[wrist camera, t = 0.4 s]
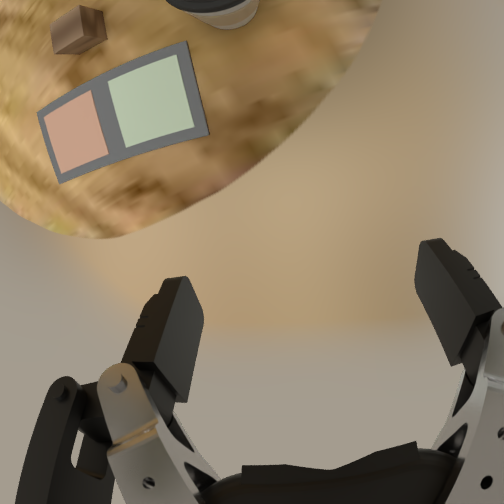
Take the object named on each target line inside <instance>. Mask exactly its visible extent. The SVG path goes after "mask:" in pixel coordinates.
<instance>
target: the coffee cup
mask: <svg viewBox="0 0 504 504" xmlns="http://www.w3.org/2000/svg"><path fill="white" fill-rule="evenodd" d="M166 1H167V2H168V3H169V4H171V5H172V6H174V7H176V8H178V9H180V10H183V11H184V12H186V13H188V14H190V15H192V16H193V17H195V18H197V19H199V20H201V21H202V22H204V23H207V24H210V25H212V26H213V27H216V28H219V29H227V30H228V29H235V28H239V27H241V26H243V25H245V24H247V23H248V22H249V21H250V20H251V19H252V18H253V17H254V15H255V14H256V11H257V7H258V4H259V1H260V0H166Z"/></svg>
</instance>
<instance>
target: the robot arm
mask: <svg viewBox="0 0 504 504" xmlns="http://www.w3.org/2000/svg"><path fill="white" fill-rule="evenodd" d="M414 280H415V288H416V292H417V294H418V296H419V298H420V300H421V302H422V304H423V306H424V308H425V310H426V312H427V314H428V316H429V318H430V320H431V322H432V324H433V327H434V329H435V330H436V333H437V335H438V337H439V339H440V342H441V344H442V346H443V348H444V351H445V353H446V356H447V358H448V361H449V363H450V365H451V366H454V365H457V364H460V363H463V365H464V370H463V372H462V374H461V378H460V382H459V385H458V388H457V392H456V395H455V398H454V401H453V404H452V407H451V410H450V413H449V416H448V418H447V421H446V423H445V425H444V427H443V428H442V430H441V431H440V433H439V435H438V436H437V438H436V440H435V442H434V444H433V446H432V449H421V448H420V449H418V448H417V443H416V441H414V442H411V443H407V444H404V445H400V446H396V447H393V448H389V449H385V450H381V451H377V452H374V453H372V454H370V455H367V456H366V457H363V458H361V459H359V460H356V461H354V462H352V463H350V464H347V465H344V466H342V467H339V468H337V469H333V470H324V469H314V468H306V467H299V466H292V465H286V464H283V465H243V466H242V473H239V474H235V475H232V476H229V477H226V478H224V479H222V480H221V479H220V478H219V476H218V475H217V474H216V472H215V471H214V470H213V468H212V467H211V466H210V465H209V464H208V463H207V462H206V461H205V459H204V458H203V457H202V456H201V455H200V453H199V452H198V450H197V449H196V447H195V446H194V444H193V442H192V441H191V439H190V437H189V436H188V434H187V433H186V431H185V429H184V428H183V426H182V424H181V422H180V421H179V419H178V417H177V416H176V414H175V412H174V411H173V409H174V404H175V402H181V403H187V400H188V395H189V390H190V385H191V381H192V376H193V371H194V366H195V361H196V357H197V352H198V347H199V342H200V338H201V333H202V329H203V324H204V316H203V310H202V307H201V305H200V303H199V300H198V298H197V296H196V294H195V291H194V289H193V287H192V284H191V283H190V280H189V278H188V277H186V276H182V277H175V278H167V279H165V280H164V281H163V283H162V286H161V288H160V290H159V293H158V294H154V295H153V296H152V297H151V298H150V300H149V301H148V302H147V303H146V304H145V306H144V308H143V310H142V313H141V315H140V319H138V322H137V324H136V328H135V329H134V331H133V334H132V336H131V338H130V341H129V343H128V346H127V348H126V351H125V353H124V356H123V358H122V361H121V363H118V364H115V365H112V366H111V367H109V368H108V369H106V370H105V371H104V372H103V373H102V375H101V376H100V379H99V381H97V382H94V383H89V384H85V385H79V384H78V383H77V382H76V381H75V380H74V379H73V378H72V377H69V376H65V377H61V378H59V379H57V380H56V381H55V382H54V383H53V384H52V385H51V386H50V388H49V390H48V393H47V395H46V397H45V400H44V403H43V406H42V408H41V411H40V414H39V417H38V419H37V422H36V425H35V428H34V431H33V434H32V437H31V440H30V444H29V447H28V450H27V454H26V457H25V461H24V465H23V469H22V473H21V477H20V481H19V486H18V491H17V495H16V501H15V504H111V499H112V493H113V486H114V481H115V479H116V482H117V484H118V486H119V489H120V491H121V493H122V496H123V498H124V500H125V502H126V504H504V308H502V306H501V305H500V303H499V302H498V300H497V299H496V297H495V296H494V294H493V293H492V291H491V290H490V289H489V287H488V286H487V284H486V283H485V282H484V280H483V279H482V278H480V275H479V274H478V272H477V271H476V270H474V267H473V266H472V264H471V263H470V262H469V261H468V259H467V258H466V257H464V256H463V255H461V254H460V253H458V252H457V251H455V250H453V251H452V250H451V248H450V247H449V246H448V245H447V243H446V242H445V241H444V240H443V239H442V238H437V239H431V240H426V241H422V242H421V243H420V245H419V252H418V259H417V265H416V271H415V279H414ZM78 430H79V431H80V432H82V433H84V438H83V441H82V446H81V449H80V454H79V457H78V461H77V466H76V468H74V466H73V465H72V463H71V454H72V450H73V446H74V442H75V438H76V435H77V431H78Z"/></svg>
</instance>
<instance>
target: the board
mask: <svg viewBox="0 0 504 504" xmlns="http://www.w3.org/2000/svg"><path fill="white" fill-rule="evenodd" d="M37 116H38V120H39V123H40V127H41V130H42V134H43V137H44V141H45V144H46V147H47V150H48V153H49V156H50V159H51V162H52V165H53V168H54V171H55V174H56V176H57V179H58V182H59V184H61V183H64V182H66V181H68V180H71V179H73V178H75V177H78V176H80V175H83V174H85V173H88V172H91V171H93V170H96V169H98V168H101V167H104V166H107V165H109V164H112V163H115V162H118V161H121V160H124V159H127V158H130V157H133V156H136V155H139V154H142V153H145V152H148V151H152V150H155V149H158V148H162V147H165V146H169V145H172V144H176V143H179V142H183V141H187V140H191V139H195V138H199V137H203V136H207V135H210V134H209V130H208V126H207V122H206V118H205V114H204V110H203V106H202V102H201V98H200V93H199V89H198V85H197V81H196V77H195V73H194V69H193V65H192V60H191V56H190V52H189V48H188V44H187V41H184V42H180V43H177V44H174V45H171V46H168V47H165V48H163V49H160V50H157V51H154V52H152V53H149V54H146V55H144V56H141V57H139V58H136V59H134V60H132V61H129V62H127V63H125V64H122V65H120V66H118V67H116V68H114V69H112V70H109V71H107V72H105V73H103V74H101V75H99V76H97V77H95V78H93V79H91V80H90V81H88V82H86V83H84V84H82V85H80V86H78V87H77V88H75V89H73V90H71V91H70V92H68V93H66V94H65V95H63V96H61V97H60V98H58V99H56V100H55V101H53V102H52V103H50V104H49V105H47V106H46V107H44V108H43V109H41V110H40V111H38V112H37Z"/></svg>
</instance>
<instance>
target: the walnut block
mask: <svg viewBox="0 0 504 504" xmlns="http://www.w3.org/2000/svg"><path fill="white" fill-rule="evenodd" d="M50 31H51V38H52V45H53V51H54V54H81V53H83V52H85V51H86V50H88V49H90V48H92V47H93V46H95V45H97V44H99V43H101V42H103V41H105V40H107V34H106V28H105V23H104V17H103V12H102V11H99V10H95V9H92V8H88V7H85V6H81V5H78V6H77V7H75V8H73V9H72V10H70V11H69V12H67V13H66V14H64V15H63V16H61V17H60V18H58V19H57V20H55V21H54V22H53V23H51V24H50Z"/></svg>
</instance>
